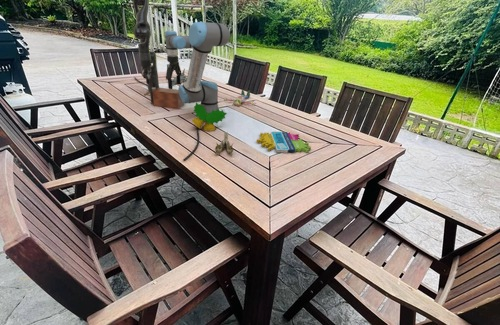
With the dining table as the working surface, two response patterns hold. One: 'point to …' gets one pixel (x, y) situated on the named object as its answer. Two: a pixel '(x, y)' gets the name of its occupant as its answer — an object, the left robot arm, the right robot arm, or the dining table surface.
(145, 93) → the drawer
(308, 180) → the dining table surface
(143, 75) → the left robot arm
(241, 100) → the toy
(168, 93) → the cabinet
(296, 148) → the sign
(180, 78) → the airplane
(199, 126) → the ornament
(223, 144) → the jawbone
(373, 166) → the dining table surface
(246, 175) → the dining table surface
